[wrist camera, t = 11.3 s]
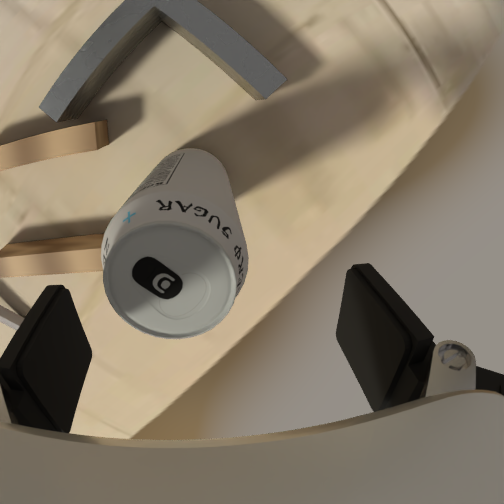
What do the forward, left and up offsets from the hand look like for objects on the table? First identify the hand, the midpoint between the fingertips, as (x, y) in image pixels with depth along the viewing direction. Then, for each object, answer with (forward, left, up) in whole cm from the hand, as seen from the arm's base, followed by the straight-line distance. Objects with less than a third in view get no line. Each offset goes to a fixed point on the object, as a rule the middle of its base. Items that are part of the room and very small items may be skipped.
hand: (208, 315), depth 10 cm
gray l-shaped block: (-11, -3, -16) cm, 20 cm away
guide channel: (0, -14, -16) cm, 21 cm away
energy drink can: (0, -1, -16) cm, 16 cm away
